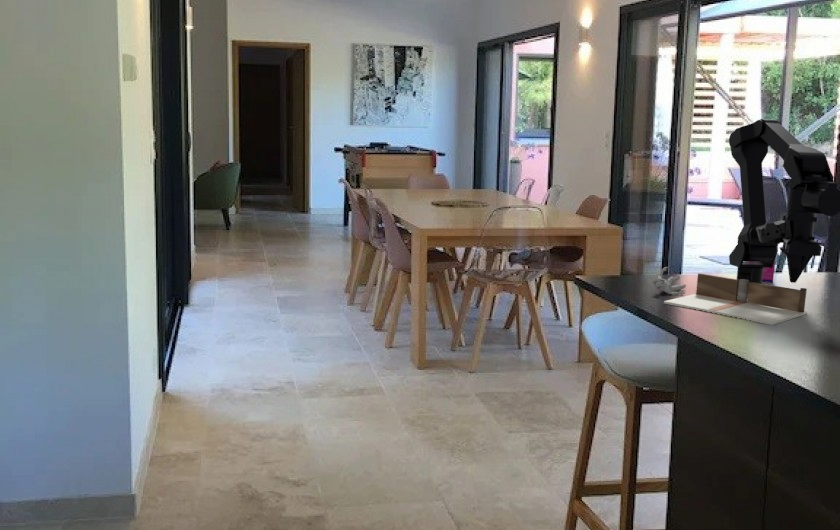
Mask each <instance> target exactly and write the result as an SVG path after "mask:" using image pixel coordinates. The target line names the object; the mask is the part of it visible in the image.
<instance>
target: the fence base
mask: <svg viewBox="0 0 840 530" xmlns="http://www.w3.org/2000/svg"><path fill="white" fill-rule="evenodd" d="M748 284H749V280H745V279H739V280H737V278H736V279H735V278H729V277H723V276H718V275H712V274H706V273H701V272H699V273H697V281H696V291H695V294H699V295H705V296H710V297H716V298H721V299H726V300H732V301H737V302H739V303H747V296H748Z"/></svg>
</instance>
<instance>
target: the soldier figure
mask: <svg viewBox="0 0 840 530" xmlns="http://www.w3.org/2000/svg"><path fill="white" fill-rule="evenodd" d="M668 268H669V267H668V266H665V267H663V268H662V269H660V271H659V272H658V274H657V275H656V280H654V281H652V284H653V285H654V286H655V288H656V289H657V291H659V290H660V289H661V290H662V291H663V292H664V293H665V294H667V295H669V294H673V295H672V296H679V295H680V296H683V295H685V294H686V292H685V291H684V290H683V289H685V288H686V287H687V284H683V285H679V284H675V285H672V283H675V282H677V281H679V280H681V279H680V278H681V276H680V275H677V276H676V277H674V276H670V277H668V278H667V279H666V278H662V276H663V274H664V272H665V271H666V272H667V271H668ZM681 290H682V291H681Z"/></svg>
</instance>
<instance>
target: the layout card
mask: <svg viewBox="0 0 840 530" xmlns="http://www.w3.org/2000/svg"><path fill="white" fill-rule="evenodd" d="M663 304H665V305H670V306H673V307H675V306H676V307H680V308H686V309H689V308H691V309H690V310H694V309H696V310H695V311H699V310H702V311H701V312H704V311H707V312H706V313H710V312H712V313H711V314H715V313H717V314H716V315H720V314H722V315H721V316H725V315H727V316H726V317H730V316H732V317H731V318H735V317H737V318H736V319H740V318H742V319H741V320H745V319H746V320H745V321H750V320H751V321H750V322H755V323H760V324H765V325H771V326H773V325H776V324H779V323H782V322H783V323H784V322H786V321H789V320H791V319H795V318H798V317H801V316H805V315H807V313H808V311H805V310H804V313H800V312H796V311H791V310H785V309H780V308H774V307H769V306H764V305H758V304H753V303H739V302H737V301H732V300H726V299H721V298H716V297H710V296H705V295H699V294H696V293H693V294H688V295H685V296H680V297H675V298H673V299H667V300H664V301H663Z"/></svg>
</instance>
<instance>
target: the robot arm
mask: <svg viewBox="0 0 840 530" xmlns="http://www.w3.org/2000/svg"><path fill="white" fill-rule="evenodd" d="M728 145H729V146H730V151H731V157H732V158H733V159H734V161H735V162H736V164H737V165H738V167H739V173H740V174H739V175H740V184H741V185H740V186H741V188H740V189H741V202H742V215H743V227H742V228H741V230H740V233H739V234H738V236H737V243H736V246H735V247H734V248H733V250H732V252H731V253H730V254H729V256H728V258H729V259H728V261H729V265H731V266H733V267H737V270H736V271H737V272H736V279H737V280H739V279H745V280H749V282H755V283H761V284H763V282H762V278H763V269H764V267H765V268H772V267H773V264H774V261H775V262H776V258H777V255H778V251H779V249H780V250H781V252H782V253H783V254H784V255H785V257H786V263H787V269H788V276H789V277H788V278H789V282H790V283H792V284H794V283H795V284H796V283H797V282H798V280H799V278H800V277H801V275H802V273H803V272H804V270H805V269H806V267H807V265H808V264H809V262H810V261H811V260H812V258H813V257H821V255H822V246H821V244H820V243H819V242H817V241H816V240H815V239H816V236H815V235H814V229H815V223H817V222H818V217H817V216H816V215H822V216H827V217H833V216H836V215H838V214H839V213H840V190H839V189H838V188H837V187H838V183H837V182H835V181H834V175H833V173H832V171H831V168H830V164H829V162H828V158H827V156H826V154H825V153H824V152H822V151H821V150H818V149H816V148H814V147H812V146H811V147H810V146H807V145H804V144H803V143H802V142H800V140H798V139H797V138H796V137H795V136H794V134H793V135H792V133H790V132H789V131H788V130H787V129H786V128H785V127H784V125H782V122H781V121H780V120H779V119H774V118H773V119H771V118H760V119H758V120H756V121H754V122H753V123H749V124H746V125H743V126H740V127H736V129H734V131H732V132H731V133H730V135H729V139H728ZM769 147H770V149H773V151H774V152H775V153H777V155H778V156H779V157H780V158H781V159H782V160H783V164H782V167H783V169H784V171H785V173H786V174H787V175H788V177H789V178H790V179H789V180H788V181H786V182H785V183H784V188H788V194H787V195H788V196H787V206H786V212H785V213H784V214H782V218H781V220H777V221H774V222H773V221H771V222H769V223H767V217H766V216H767V215H766V214H767V213H766V201H765V191H764V190H765V188H764V175H763V174H764V173H763V161H764V160H765V158H766V156H767V155H768V153H769ZM781 243H782V244H783V247H779V248H778V246H779V244H781ZM747 261H756V262H747ZM748 286H749V285H748Z"/></svg>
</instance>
